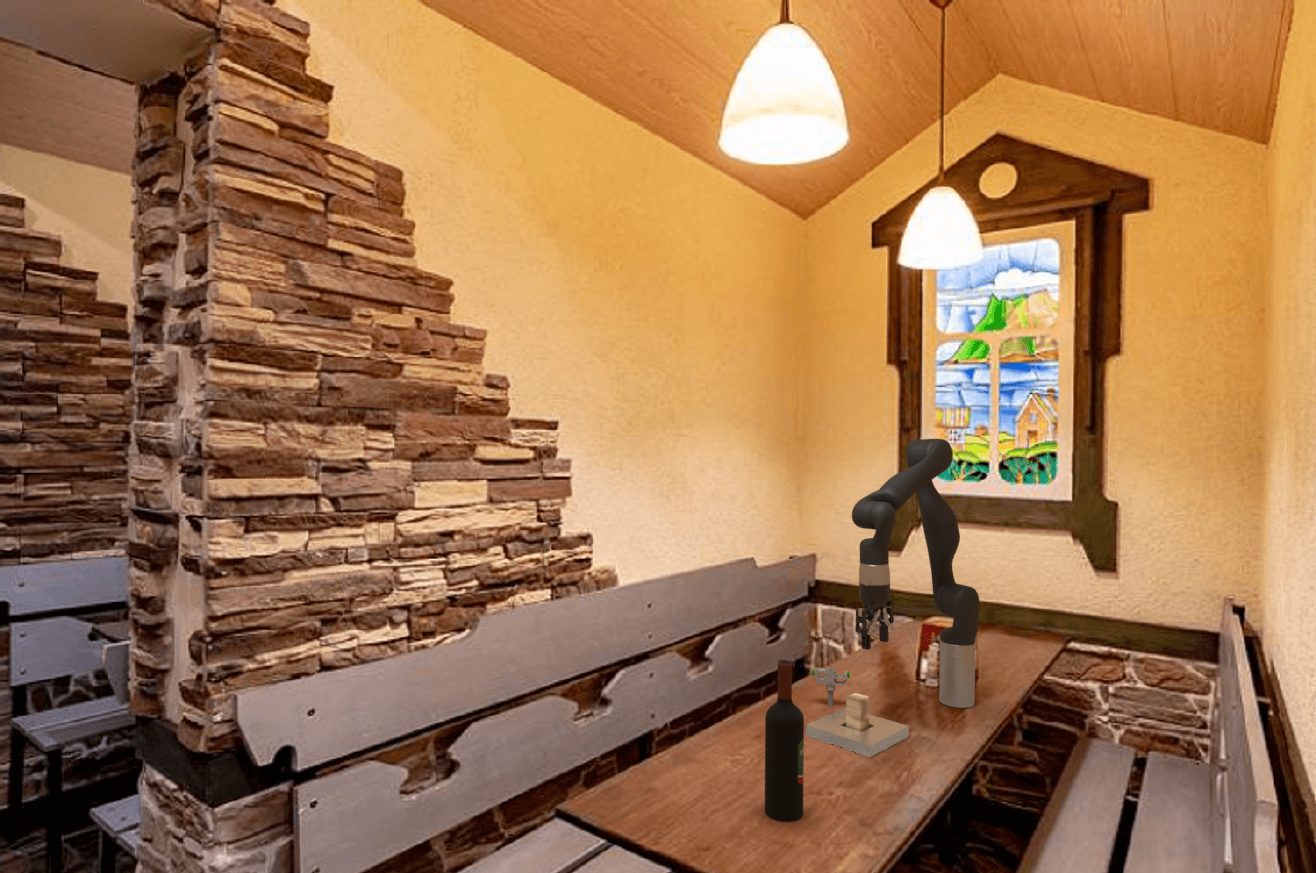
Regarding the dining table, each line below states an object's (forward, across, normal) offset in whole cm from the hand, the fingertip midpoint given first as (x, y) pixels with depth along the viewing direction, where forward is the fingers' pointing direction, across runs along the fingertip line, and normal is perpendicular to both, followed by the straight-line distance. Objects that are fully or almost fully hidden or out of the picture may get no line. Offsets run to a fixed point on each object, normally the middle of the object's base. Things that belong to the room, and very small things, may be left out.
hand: (875, 645), depth 198 cm
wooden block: (+22, +5, -2) cm, 23 cm away
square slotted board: (+22, +5, -2) cm, 23 cm away
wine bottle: (+21, +50, +9) cm, 55 cm away
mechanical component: (+22, -9, -19) cm, 31 cm away
